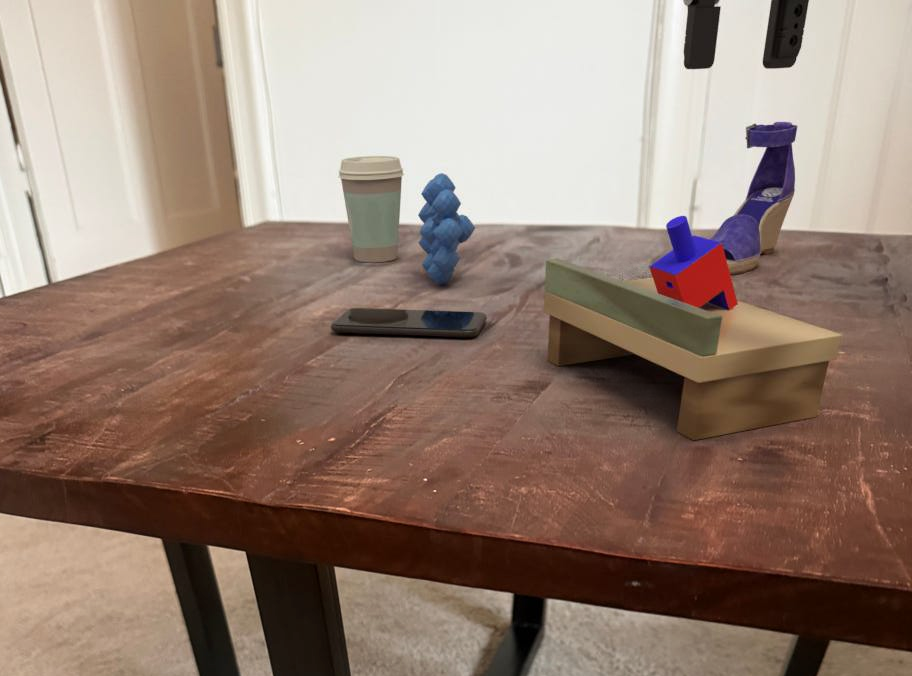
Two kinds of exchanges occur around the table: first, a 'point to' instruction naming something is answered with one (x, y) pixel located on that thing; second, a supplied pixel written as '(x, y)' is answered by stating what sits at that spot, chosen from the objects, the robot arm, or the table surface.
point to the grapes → (442, 228)
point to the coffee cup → (373, 205)
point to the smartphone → (410, 322)
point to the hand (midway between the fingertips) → (735, 68)
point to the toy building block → (693, 269)
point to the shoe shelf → (693, 348)
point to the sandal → (761, 199)
